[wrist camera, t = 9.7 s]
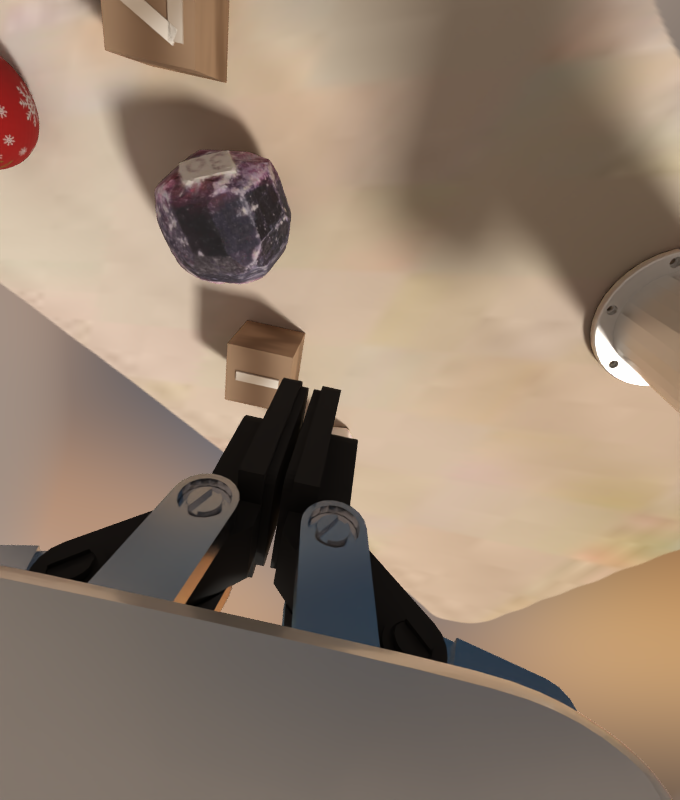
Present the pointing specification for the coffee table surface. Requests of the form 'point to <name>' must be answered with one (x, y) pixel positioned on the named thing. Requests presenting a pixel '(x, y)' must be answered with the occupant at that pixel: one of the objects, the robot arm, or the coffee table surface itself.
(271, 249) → the mineral specimen
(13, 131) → the christmas ornament
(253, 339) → the walnut block
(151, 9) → the brown cube
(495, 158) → the coffee table surface
